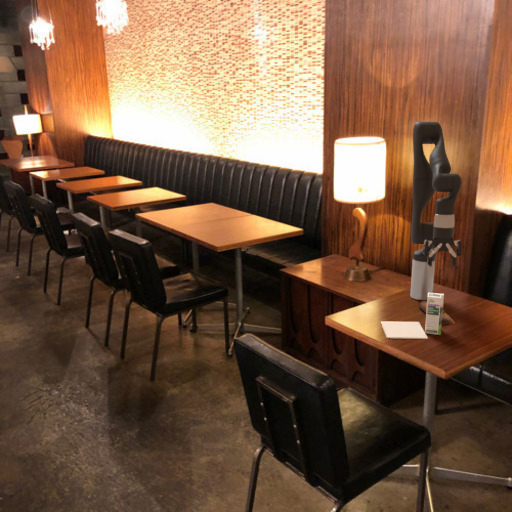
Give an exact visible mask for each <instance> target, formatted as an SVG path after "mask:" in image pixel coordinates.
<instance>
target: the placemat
mask: <svg viewBox="0 0 512 512" xmlns="http://www.w3.org/2000/svg"><path fill="white" fill-rule="evenodd" d="M380 324H382V325H381V327H382V330H383V332H384V335H385V337H386V339H388V340H389V338H390V339H394V340H395V339H397V340H401V339H403V340H404V339H406V340H428V338H429V337H428V336H427V334H426V333H425V329H424V328H423V327H422V325H421V323H420V321H387V320H386V321H380Z"/></svg>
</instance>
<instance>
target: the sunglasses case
mask: <svg viewBox="0 0 512 512" xmlns="http://www.w3.org/2000/svg"><path fill="white" fill-rule="evenodd" d="M418 308H419V309H420V310H421V311H423V313H424V314H426V310H427V301H426V300H421V301H420V303H419V304H418ZM454 324H456V322H455V321H454V320H453V319H452V317H451V316H450V315H449V314H447V313H446V311H445V310H444V309H443V314H442V325H454Z"/></svg>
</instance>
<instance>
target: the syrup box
mask: <svg viewBox="0 0 512 512" xmlns="http://www.w3.org/2000/svg"><path fill="white" fill-rule="evenodd" d="M444 296H445V293H436V292H432V293H430V292H429V293H428V297H427V300H426V302H427V310H426V313H425V325H424V326H425V327H424V332H425V334H426V335H427V334H429V335H430V334H431V335H438V336H441V335H442V325H443V324H442V314H443V310H444V299H445V297H444Z"/></svg>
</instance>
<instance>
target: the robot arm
mask: <svg viewBox="0 0 512 512" xmlns="http://www.w3.org/2000/svg"><path fill="white" fill-rule="evenodd" d="M443 134H444V133H443V129H442V125H441V123H440V122H438V121H416V122H415V123H414V125H413V128H412V147H413V148H412V151H413V169H412V170H413V171H412V172H413V173H412V174H413V175H412V212H411V225H410V241H411V243H412V244H413V245H423V247H422V248H419V249H417V250H415V251H414V252H413V253H412V264H411V265H412V267H411V281H410V295H409V296H410V298H412V299H414V300H418V301H419V300H420V301H427V297H428V293H429V292H430V293H434V292H433V290H434V280H435V279H434V278H435V264H436V256H437V252H439V253H441V252H449V253H450V254H451V256H450V267H453V268H454V267H455V266H456V264H457V257H461V256H462V244H463V242H462V240H460V239H457V240H454V233H455V224H456V223H455V210H456V209H455V207H456V202H457V198H458V195H459V193H460V190H461V187H462V178H461V175H459V174H458V173H452V172H451V171H452V166H451V163H450V161H449V158H448V156H447V155H448V154H447V152H446V145H445V139H444V135H443ZM424 145H434V148H433V149H432V151H431V153H430V155H429V158H428V159H427V157H426V155H425V152H424V151H425V150H424ZM428 160H429V161H428ZM435 192H437V193H447V195H446V196H445V197H441V198H437V199H436V201H435V212H434V219H433V222H426V221H425V222H421V218H422V214H423V212H424V210H425V208H426V207H427V205H428V204H429V202H430V201H431V200H432V198H433V196H434V194H435ZM454 245H455V246H456V252H455V251H454V250H453V248H452V247H453V246H454Z"/></svg>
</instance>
